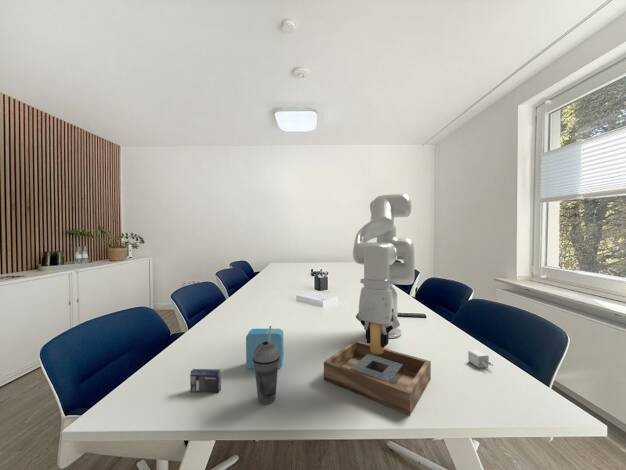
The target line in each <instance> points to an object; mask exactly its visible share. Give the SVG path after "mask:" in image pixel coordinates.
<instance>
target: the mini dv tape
mask: <svg viewBox="0 0 626 470" xmlns="http://www.w3.org/2000/svg"><path fill="white" fill-rule="evenodd" d="M221 371H222V370H221V368H220V369H217V368H216V369H215V368H212V369H211V368H208V369H206V368H204V369H203V368H192V369H191V370H190V373H189V374H190V375H189V376H190V380H189V381H190V384H189V385H190V393H198V394H201V393H202V394H204V393H205V394H219V393H220V392H221V390H222V384H221V383H222V380H221V378H222V375H221V374H222V373H221Z"/></svg>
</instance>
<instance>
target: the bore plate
mask: <svg viewBox="0 0 626 470" xmlns="http://www.w3.org/2000/svg"><path fill="white" fill-rule="evenodd" d="M350 369H351V370H354V371H357V372H360V373H362V374H365V375H368V376H371V377H373V378H376V379H379V380H382V381H385V382H387V383H390V384H393V385H395V384H396V383H397V382H398V380H399V379H400V378H401V377H402V375H403V364H400V363H397V362H394V361H390V360H387V359H384V358H380V357H377V356H374V355H371V354H367V355H366V356H365V357H363V358H362V359H361V360H360V361H359V362H358V363H356V364H355V365H354V366H353V367H352V368H350ZM374 370H375V371H374ZM377 371H378V372H377ZM380 372H381V373H380Z"/></svg>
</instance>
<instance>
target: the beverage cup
mask: <svg viewBox="0 0 626 470" xmlns="http://www.w3.org/2000/svg"><path fill="white" fill-rule="evenodd" d="M268 329H269V336H268V341H266V342H262V343H261V344H259V345H258V346H257V348H256V349H255V351H254V356H253V361H254V367H255V369H254V370H255V372H254V373H255V381H256V382H255V383H256V390H257V393H256V394H257V397H258V403H259V404H260V405H263V406H268V405H271V404H273V403H274V402H275V400H276V395H277V385H278V384H277V383H278V372H279V371H278V370H279V369H278V364H279V358H280V355H279V351H278V348H277V346H276V345H275V344H274V343H272V342H270V335H271V329H272V325H270V326H269V328H268Z"/></svg>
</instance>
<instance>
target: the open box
mask: <svg viewBox="0 0 626 470" xmlns="http://www.w3.org/2000/svg"><path fill="white" fill-rule="evenodd" d="M367 354H371V355H374V356H377V357H380V358H384V359H387V360H390V361H394V362H397V363H400V364H403V375H402V377H401V378H400V379H399V380H398V382H397V383H396V384H395V385H393V384H390V383H387V382H385V381H382V380H379V379H376V378H373V377H371V376H368V375H365V374H362V373H360V372H357V371H354V370H351V369H350V368H352V367H353V366H354V365H355V364H356V363H358V362H359V361H360V360H361V359H362V358H363V357H365V356H366V355H367ZM374 371H375V370H374ZM431 371H432V364H431V361H430V360H428V359H424V358H421V357H416V356H415V355H409V354H405V353H402V352H398V351H395V350H391V349H388V348H386V347H384V353H382V354H374V353H372V352H371V351H370V343H369V344H367V342H363V341H359V340H356V339H355V340H353V341H352V342H350V343H349V344H348V345H346V346H345V347H343V348H342V349H340V350H338V351H337V352H336V353H335V354H333V355H332V356H330V357H329V358H327V359H326V360H325V361H323V380H324V381H326V382H329V383H331V384H334V385H335V386H338V387H339V388H343V389H345V390H347V391H350V392H352V393H355V394H357V395H360V396H362V397H363V398H366V399H369V400H372V401H375V402H376V403H379V404H382V405H383V406H387V407H389V408H391V409H393V410H396V411H398V412H401V413H403V414H406V415H407V414H409V415H408V416H411V415H412V413H413V411H414V410H415V408H416V406H417V404H418V402H419V401H420V399H421V397H422V395H423V393H424V392H425V390H426V388H427V386H428V385H429V383H430V381H431V378H432V377H431ZM377 372H378V371H377ZM380 373H381V372H380ZM410 414H411V415H410Z"/></svg>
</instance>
